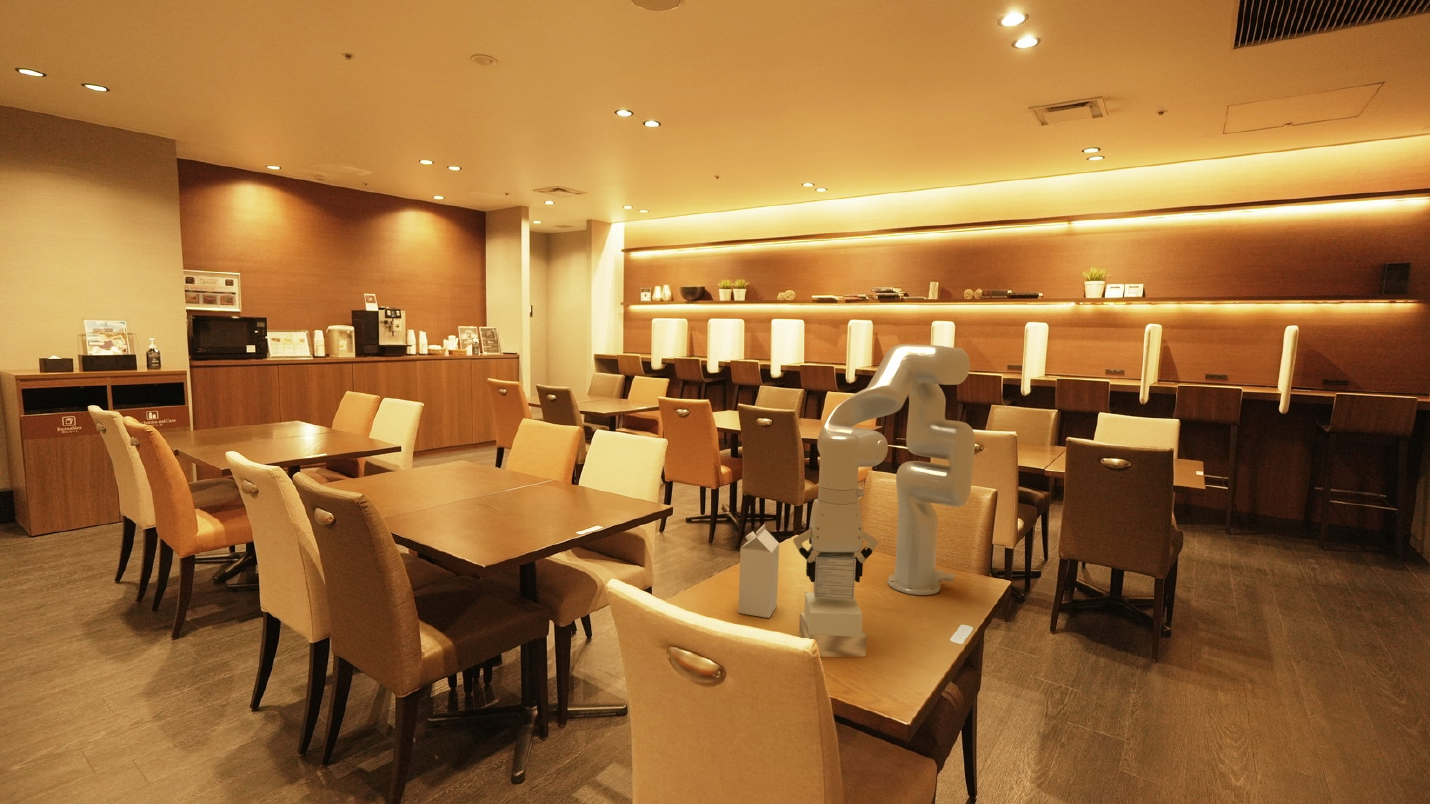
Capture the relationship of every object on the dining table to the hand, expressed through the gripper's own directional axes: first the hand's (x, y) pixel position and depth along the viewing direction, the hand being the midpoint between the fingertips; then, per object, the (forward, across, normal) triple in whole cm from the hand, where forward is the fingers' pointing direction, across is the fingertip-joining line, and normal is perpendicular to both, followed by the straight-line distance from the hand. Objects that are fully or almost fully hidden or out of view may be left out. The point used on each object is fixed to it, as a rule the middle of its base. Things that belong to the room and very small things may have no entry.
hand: (833, 579), depth 134 cm
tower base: (+14, 0, 0) cm, 14 cm away
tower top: (+9, 0, 0) cm, 9 cm away
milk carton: (+14, +13, -16) cm, 25 cm away
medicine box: (+3, 0, 0) cm, 3 cm away
